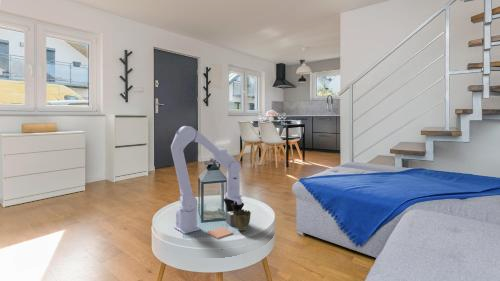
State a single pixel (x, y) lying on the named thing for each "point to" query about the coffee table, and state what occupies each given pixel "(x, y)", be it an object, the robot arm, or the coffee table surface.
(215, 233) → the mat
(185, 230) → the robot arm
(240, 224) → the cup
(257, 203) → the coffee table surface
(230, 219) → the letter block
